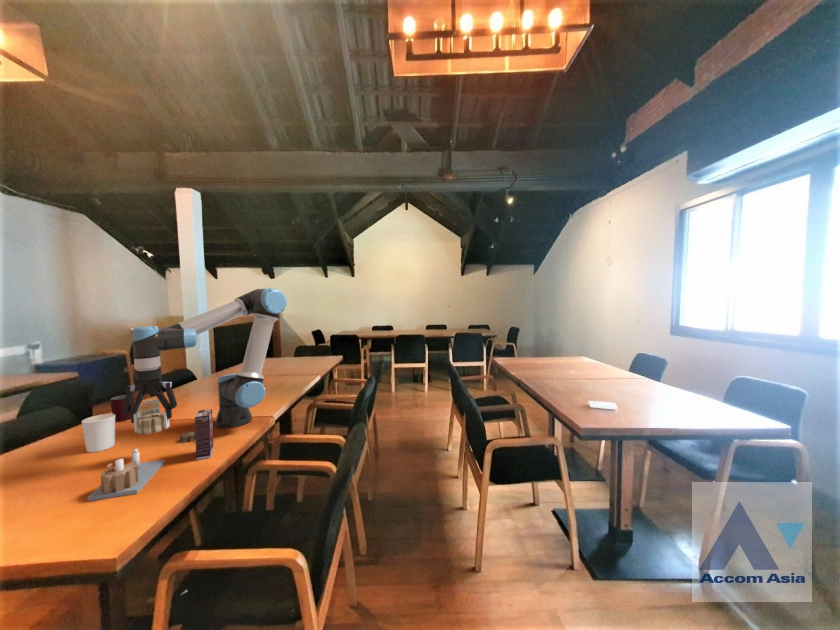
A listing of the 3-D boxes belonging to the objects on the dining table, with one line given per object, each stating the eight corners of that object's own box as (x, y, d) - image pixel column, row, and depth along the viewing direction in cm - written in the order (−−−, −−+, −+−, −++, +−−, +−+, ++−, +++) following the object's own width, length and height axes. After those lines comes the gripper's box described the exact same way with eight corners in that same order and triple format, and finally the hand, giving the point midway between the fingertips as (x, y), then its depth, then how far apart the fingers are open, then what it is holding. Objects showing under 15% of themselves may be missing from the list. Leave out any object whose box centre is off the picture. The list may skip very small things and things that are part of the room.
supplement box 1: (141, 434, 148) (139, 405, 147) (134, 433, 150) (132, 404, 149) (161, 427, 156) (159, 399, 155) (154, 426, 157) (152, 398, 157)
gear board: (164, 463, 122) (163, 437, 121) (137, 493, 103) (135, 463, 102) (123, 468, 118) (122, 442, 118) (87, 501, 99) (85, 470, 98)
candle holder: (96, 454, 130) (94, 423, 129) (76, 452, 132) (74, 421, 131) (123, 443, 139) (121, 414, 139) (104, 441, 141) (102, 413, 141)
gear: (196, 435, 146) (196, 430, 146) (196, 440, 141) (196, 434, 141) (180, 438, 143) (179, 433, 143) (179, 443, 138) (178, 437, 138)
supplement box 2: (211, 457, 125) (209, 415, 124) (195, 460, 123) (193, 417, 122) (214, 448, 133) (212, 408, 132) (199, 451, 131) (197, 410, 130)
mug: (145, 414, 175) (144, 393, 174) (139, 419, 167) (137, 397, 166) (116, 417, 170) (115, 395, 170) (108, 423, 162) (106, 400, 162)
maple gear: (170, 424, 131) (169, 411, 131) (161, 432, 123) (160, 419, 123) (144, 427, 129) (143, 414, 129) (133, 435, 121) (132, 422, 121)
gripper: (185, 364, 131) (189, 421, 133) (118, 369, 125) (123, 429, 127) (178, 368, 124) (182, 428, 126) (106, 373, 118) (112, 437, 119)
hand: (152, 429), depth 126 cm, fingers closed on maple gear, 8 cm apart
